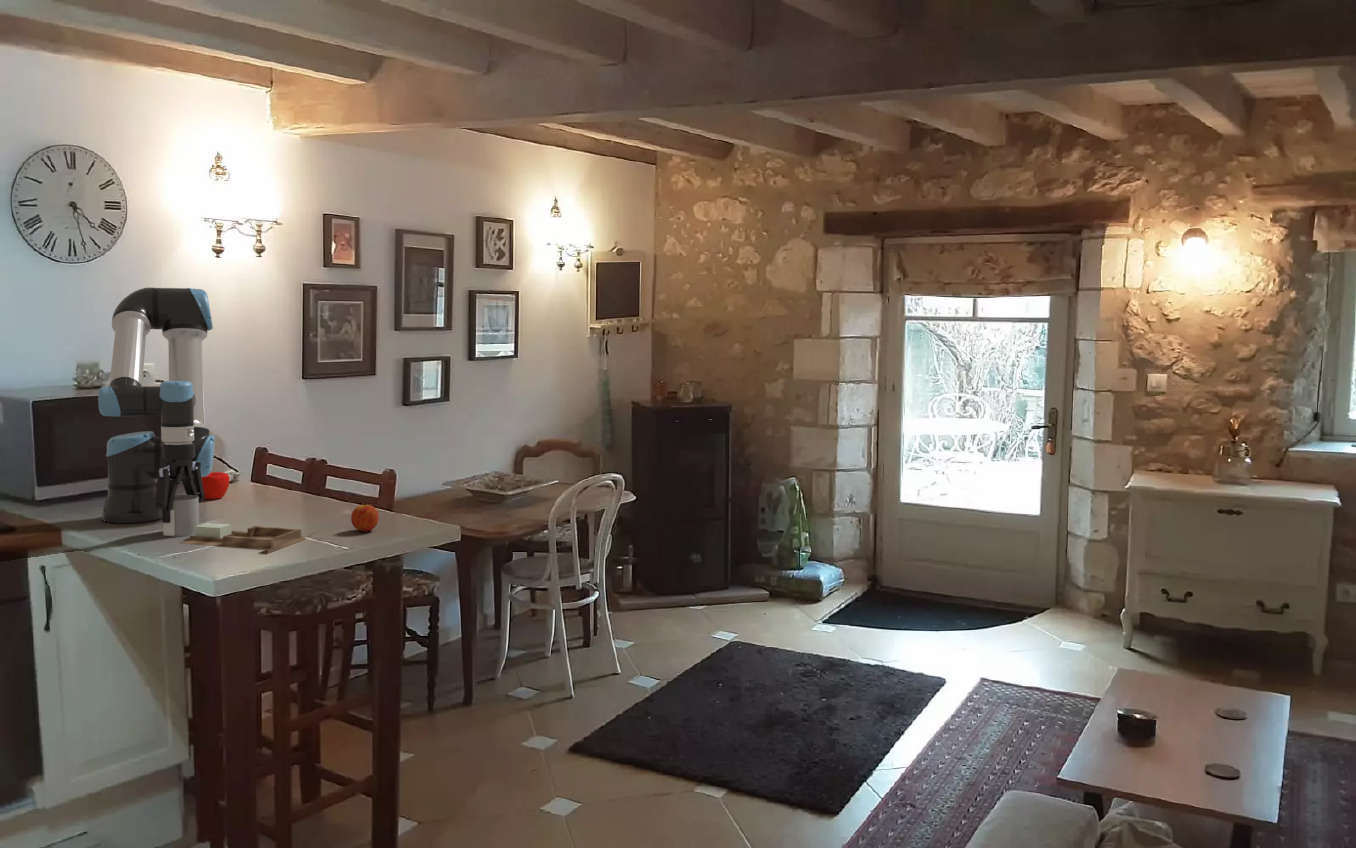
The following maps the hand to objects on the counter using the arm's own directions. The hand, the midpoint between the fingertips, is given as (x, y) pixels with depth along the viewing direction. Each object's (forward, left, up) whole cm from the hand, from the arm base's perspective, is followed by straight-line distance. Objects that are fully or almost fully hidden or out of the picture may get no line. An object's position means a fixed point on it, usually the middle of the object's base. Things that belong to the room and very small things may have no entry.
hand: (181, 531), depth 274 cm
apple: (-25, +48, -2) cm, 54 cm away
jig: (+19, -2, -1) cm, 19 cm away
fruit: (+40, +20, -2) cm, 45 cm away
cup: (0, 0, -2) cm, 2 cm away
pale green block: (+11, -2, 0) cm, 11 cm away
